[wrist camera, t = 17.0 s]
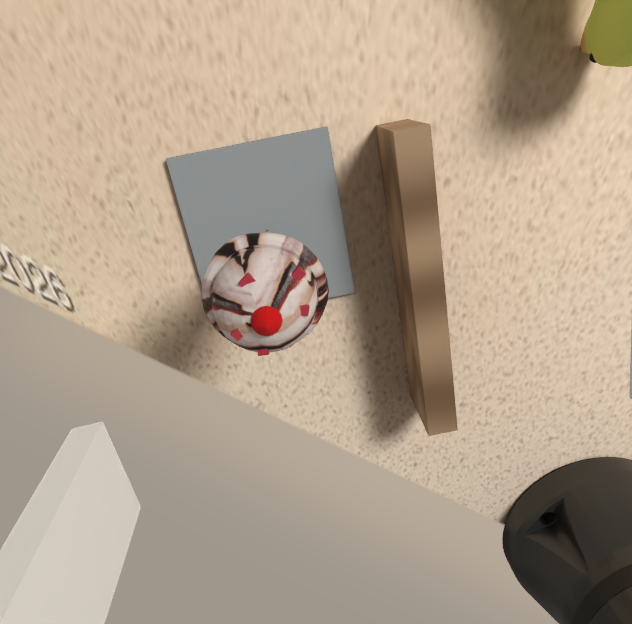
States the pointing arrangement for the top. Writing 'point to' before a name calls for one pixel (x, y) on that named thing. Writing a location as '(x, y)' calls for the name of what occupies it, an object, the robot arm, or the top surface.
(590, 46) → the toy
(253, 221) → the grey mat
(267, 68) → the top surface
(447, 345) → the walnut wall
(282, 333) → the ice cream cone
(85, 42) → the top surface
